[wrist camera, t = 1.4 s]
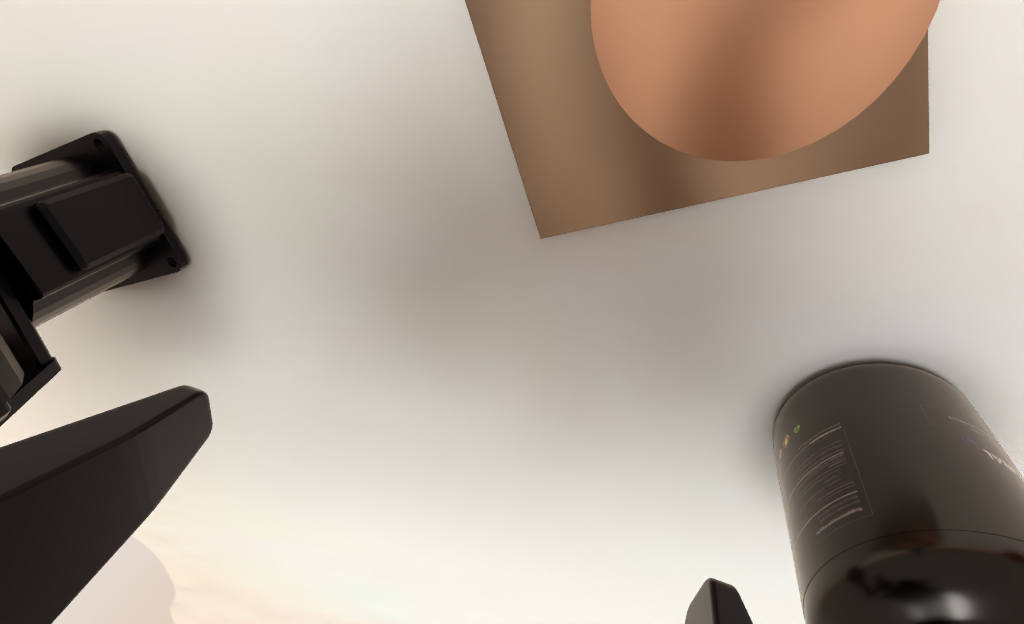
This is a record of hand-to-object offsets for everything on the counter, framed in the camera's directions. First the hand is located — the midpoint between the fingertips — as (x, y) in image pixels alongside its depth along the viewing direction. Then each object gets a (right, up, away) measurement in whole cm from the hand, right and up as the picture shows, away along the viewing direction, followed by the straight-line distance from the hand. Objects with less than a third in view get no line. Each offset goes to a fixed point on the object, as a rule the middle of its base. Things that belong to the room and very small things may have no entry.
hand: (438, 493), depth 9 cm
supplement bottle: (+15, -1, +12) cm, 19 cm away
